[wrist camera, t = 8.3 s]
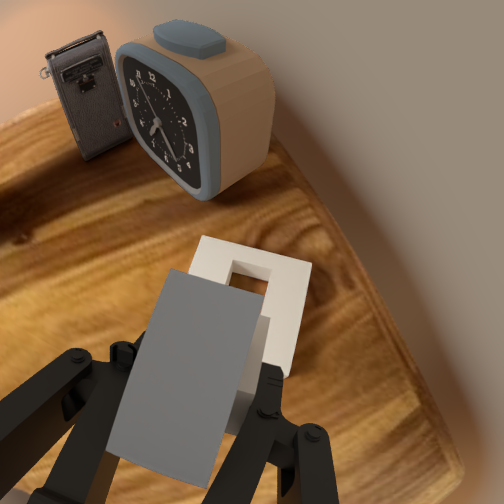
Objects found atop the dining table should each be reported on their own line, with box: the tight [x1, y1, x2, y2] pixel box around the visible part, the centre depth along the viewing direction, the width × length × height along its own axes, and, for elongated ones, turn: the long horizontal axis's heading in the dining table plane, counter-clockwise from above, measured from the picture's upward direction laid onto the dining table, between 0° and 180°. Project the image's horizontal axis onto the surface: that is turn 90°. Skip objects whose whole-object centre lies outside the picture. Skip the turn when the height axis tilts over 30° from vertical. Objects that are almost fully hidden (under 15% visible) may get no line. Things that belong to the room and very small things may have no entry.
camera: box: [39, 30, 133, 161], centre depth 43 cm, size 11×17×20 cm, turn 33°
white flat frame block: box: [188, 235, 312, 379], centre depth 35 cm, size 13×13×4 cm
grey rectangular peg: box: [106, 269, 264, 489], centre depth 14 cm, size 3×6×13 cm, turn 165°
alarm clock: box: [115, 20, 275, 201], centre depth 37 cm, size 21×10×22 cm, turn 44°
